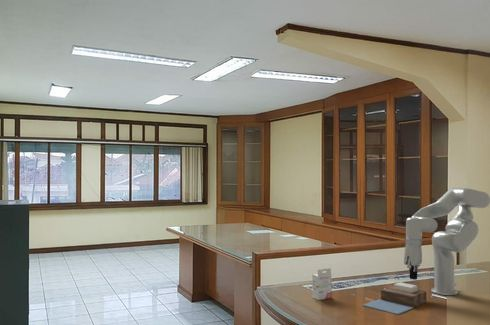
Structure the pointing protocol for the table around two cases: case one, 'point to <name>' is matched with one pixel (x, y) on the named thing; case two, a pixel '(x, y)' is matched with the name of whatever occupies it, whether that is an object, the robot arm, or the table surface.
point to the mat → (388, 306)
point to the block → (405, 287)
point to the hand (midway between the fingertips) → (413, 278)
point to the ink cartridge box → (322, 284)
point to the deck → (403, 297)
